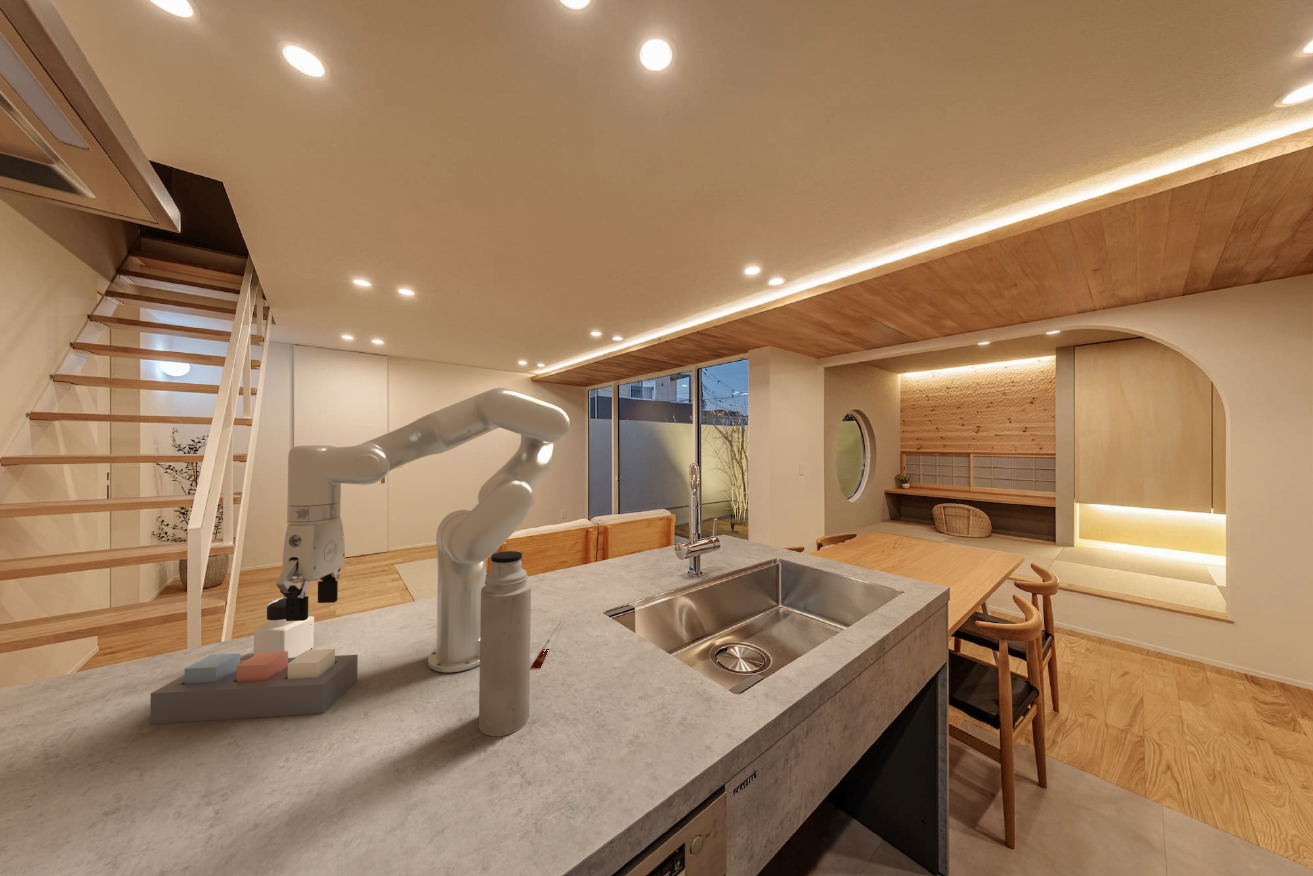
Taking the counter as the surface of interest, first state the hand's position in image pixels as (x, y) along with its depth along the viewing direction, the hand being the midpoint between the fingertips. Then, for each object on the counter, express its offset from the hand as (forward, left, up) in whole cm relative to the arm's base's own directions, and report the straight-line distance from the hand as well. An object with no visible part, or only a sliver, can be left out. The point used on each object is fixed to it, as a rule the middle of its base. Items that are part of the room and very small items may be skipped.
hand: (313, 610), depth 77 cm
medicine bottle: (+16, -17, -16) cm, 28 cm away
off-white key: (0, 0, -12) cm, 12 cm away
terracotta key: (+8, 0, -12) cm, 14 cm away
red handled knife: (-40, -18, -16) cm, 47 cm away
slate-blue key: (+16, 0, -12) cm, 20 cm away
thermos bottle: (-36, +10, -16) cm, 41 cm away
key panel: (+8, 0, -16) cm, 18 cm away
